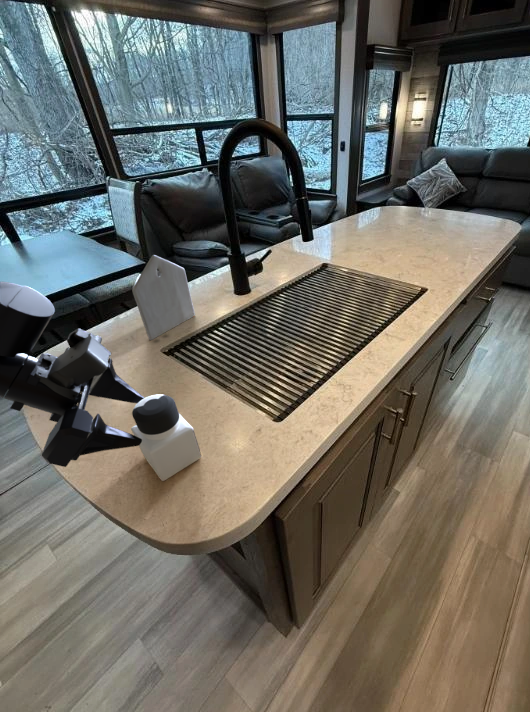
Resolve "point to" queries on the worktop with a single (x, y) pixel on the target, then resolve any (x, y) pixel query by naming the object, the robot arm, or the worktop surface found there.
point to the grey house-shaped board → (162, 296)
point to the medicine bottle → (164, 435)
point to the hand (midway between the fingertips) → (142, 420)
